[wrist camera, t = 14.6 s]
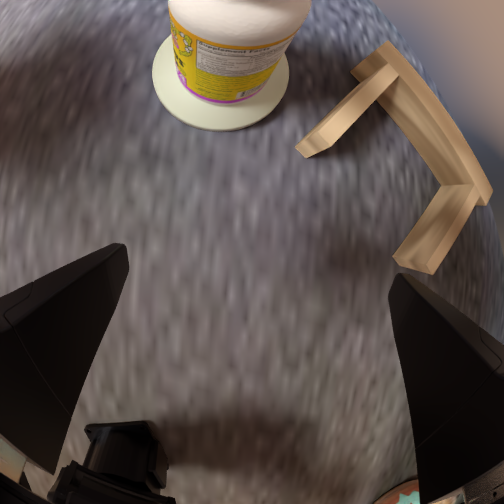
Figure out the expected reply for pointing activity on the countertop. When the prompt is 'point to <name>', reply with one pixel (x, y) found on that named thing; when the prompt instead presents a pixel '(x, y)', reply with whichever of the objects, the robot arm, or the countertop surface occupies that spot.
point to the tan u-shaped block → (425, 142)
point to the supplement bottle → (231, 44)
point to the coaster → (209, 114)
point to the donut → (401, 494)
